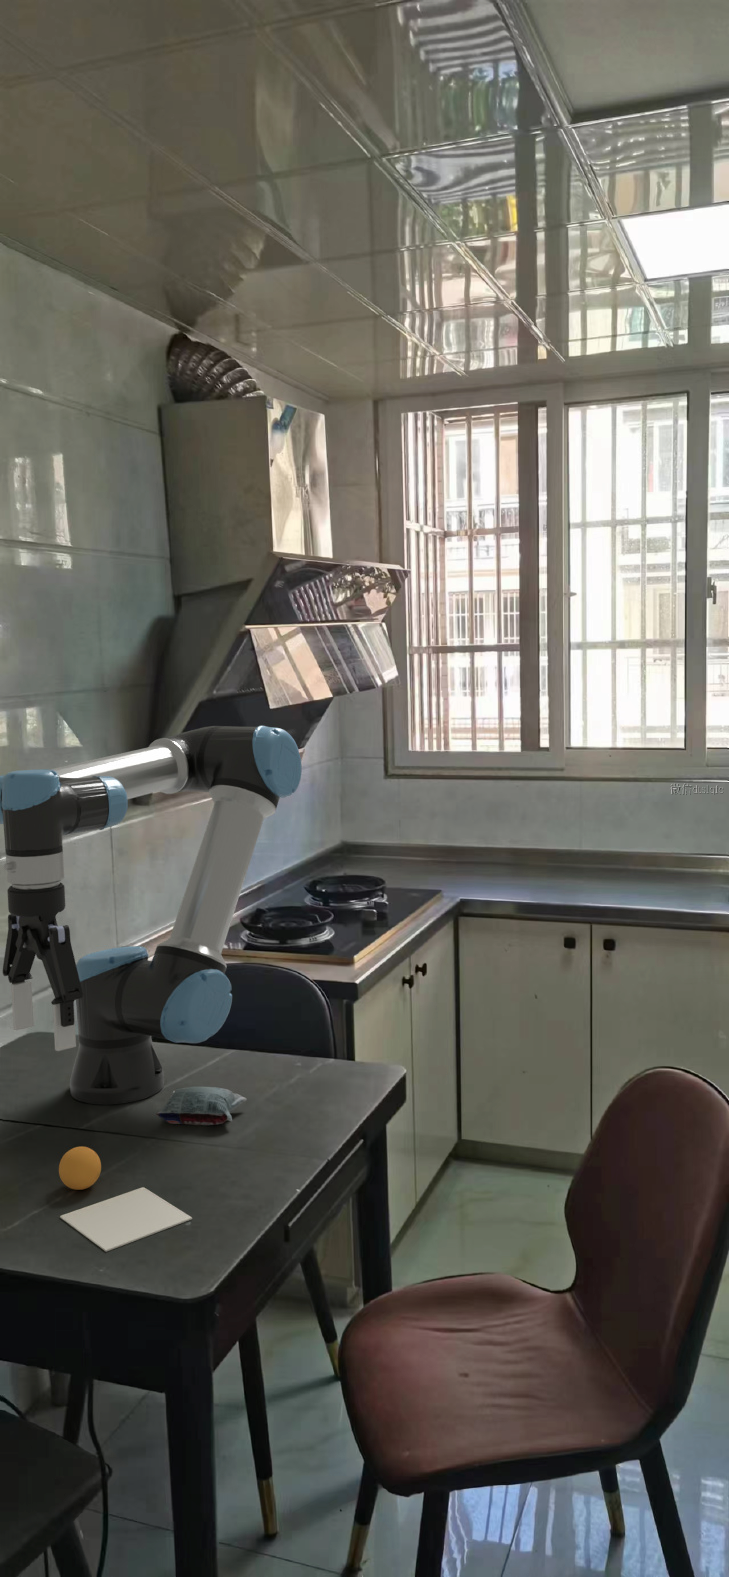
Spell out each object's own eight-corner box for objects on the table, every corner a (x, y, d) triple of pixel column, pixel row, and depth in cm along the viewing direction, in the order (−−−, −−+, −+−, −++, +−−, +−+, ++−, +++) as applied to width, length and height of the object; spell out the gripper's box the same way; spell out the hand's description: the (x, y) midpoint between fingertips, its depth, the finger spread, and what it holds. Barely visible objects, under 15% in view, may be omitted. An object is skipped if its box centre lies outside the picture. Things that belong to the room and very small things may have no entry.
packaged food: (175, 1107, 187) (173, 1077, 186) (247, 1110, 185) (246, 1080, 184) (155, 1129, 178) (154, 1098, 178) (231, 1133, 176) (230, 1101, 175)
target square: (59, 1217, 150) (59, 1215, 150) (143, 1188, 157) (143, 1187, 157) (106, 1251, 141) (105, 1250, 141) (192, 1219, 148) (192, 1217, 148)
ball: (52, 1187, 158) (50, 1147, 158) (90, 1175, 162) (88, 1136, 161) (71, 1200, 154) (69, 1160, 154) (109, 1188, 158) (107, 1148, 157)
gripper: (-28, 876, 168) (-19, 1024, 170) (51, 899, 149) (59, 1065, 152) (22, 869, 173) (30, 1013, 175) (104, 891, 154) (111, 1051, 157)
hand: (44, 1037), depth 163 cm, fingers open, 12 cm apart
